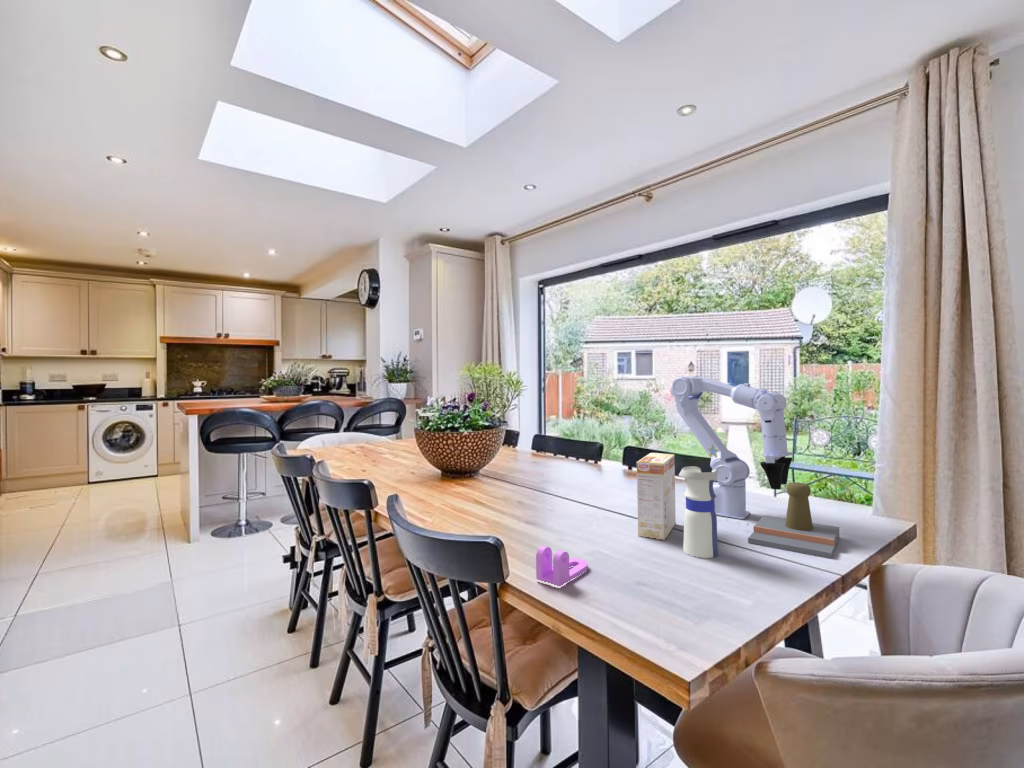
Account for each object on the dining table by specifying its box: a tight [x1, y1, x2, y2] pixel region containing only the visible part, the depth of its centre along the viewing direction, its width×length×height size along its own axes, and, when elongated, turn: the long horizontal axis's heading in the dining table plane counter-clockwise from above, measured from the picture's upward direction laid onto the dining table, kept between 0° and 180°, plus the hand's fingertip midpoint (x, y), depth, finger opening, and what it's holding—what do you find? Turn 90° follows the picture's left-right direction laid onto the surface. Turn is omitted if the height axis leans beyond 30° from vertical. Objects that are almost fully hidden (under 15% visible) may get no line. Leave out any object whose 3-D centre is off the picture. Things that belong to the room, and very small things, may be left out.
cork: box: [785, 481, 813, 531], centre depth 120 cm, size 6×6×11 cm
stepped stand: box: [747, 515, 840, 559], centre depth 118 cm, size 17×17×3 cm
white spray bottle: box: [678, 444, 719, 559], centre depth 112 cm, size 8×9×25 cm
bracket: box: [535, 545, 589, 586], centre depth 100 cm, size 13×6×7 cm, turn 141°
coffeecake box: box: [636, 452, 677, 541], centre depth 127 cm, size 15×7×20 cm, turn 150°
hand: (779, 486), depth 130 cm, fingers open, 7 cm apart
